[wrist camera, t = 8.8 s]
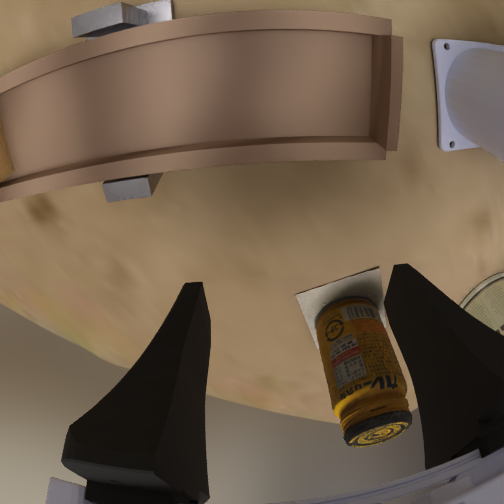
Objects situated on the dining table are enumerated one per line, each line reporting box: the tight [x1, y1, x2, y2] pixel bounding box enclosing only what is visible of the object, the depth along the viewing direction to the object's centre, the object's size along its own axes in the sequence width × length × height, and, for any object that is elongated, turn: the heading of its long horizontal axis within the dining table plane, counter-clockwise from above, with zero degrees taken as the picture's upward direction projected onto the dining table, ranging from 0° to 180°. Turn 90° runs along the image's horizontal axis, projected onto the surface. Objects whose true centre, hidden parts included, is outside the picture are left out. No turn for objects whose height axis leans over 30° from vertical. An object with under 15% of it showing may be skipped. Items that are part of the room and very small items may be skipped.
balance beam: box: [0, 10, 403, 202], centre depth 12 cm, size 24×7×4 cm, turn 93°
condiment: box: [296, 268, 412, 447], centre depth 23 cm, size 7×8×12 cm
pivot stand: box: [71, 0, 174, 202], centre depth 14 cm, size 5×10×5 cm, turn 3°
